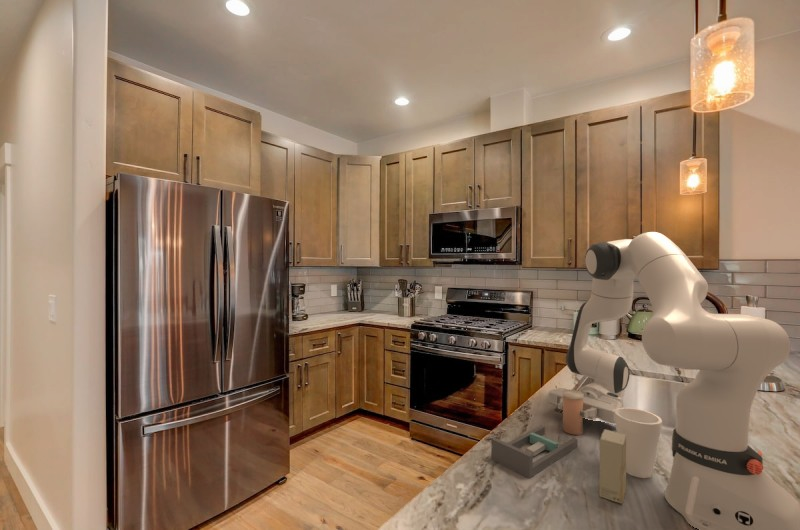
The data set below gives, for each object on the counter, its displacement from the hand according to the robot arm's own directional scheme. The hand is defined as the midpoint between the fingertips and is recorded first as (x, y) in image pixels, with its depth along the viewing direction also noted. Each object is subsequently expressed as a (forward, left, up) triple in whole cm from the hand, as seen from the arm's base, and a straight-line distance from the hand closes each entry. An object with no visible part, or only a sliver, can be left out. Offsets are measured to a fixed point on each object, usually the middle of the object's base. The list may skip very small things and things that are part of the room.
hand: (571, 410), depth 106 cm
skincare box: (-19, +21, -7) cm, 29 cm away
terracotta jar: (0, -1, -6) cm, 6 cm away
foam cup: (-19, +7, -7) cm, 21 cm away
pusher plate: (0, +18, -6) cm, 19 cm away
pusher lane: (0, +18, -6) cm, 19 cm away
